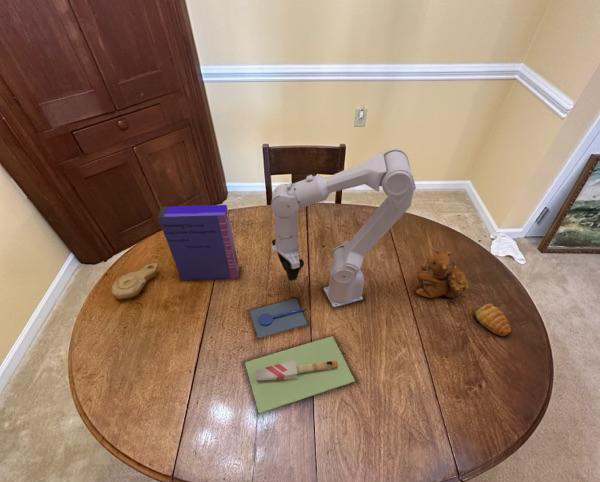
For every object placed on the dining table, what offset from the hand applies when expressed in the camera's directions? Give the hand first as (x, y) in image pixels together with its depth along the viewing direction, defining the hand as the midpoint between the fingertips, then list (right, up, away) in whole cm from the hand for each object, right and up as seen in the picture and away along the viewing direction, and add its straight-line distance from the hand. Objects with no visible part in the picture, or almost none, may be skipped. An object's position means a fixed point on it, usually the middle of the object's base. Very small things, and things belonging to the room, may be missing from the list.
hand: (288, 270), depth 98 cm
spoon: (-2, -13, 0) cm, 13 cm away
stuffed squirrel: (+45, -6, +7) cm, 45 cm away
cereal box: (-25, -1, +13) cm, 28 cm away
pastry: (+56, -14, -1) cm, 58 cm away
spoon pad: (-3, -13, 0) cm, 14 cm away
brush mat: (+3, -26, -11) cm, 28 cm away
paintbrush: (+3, -26, -11) cm, 28 cm away
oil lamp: (-46, -5, +10) cm, 48 cm away
